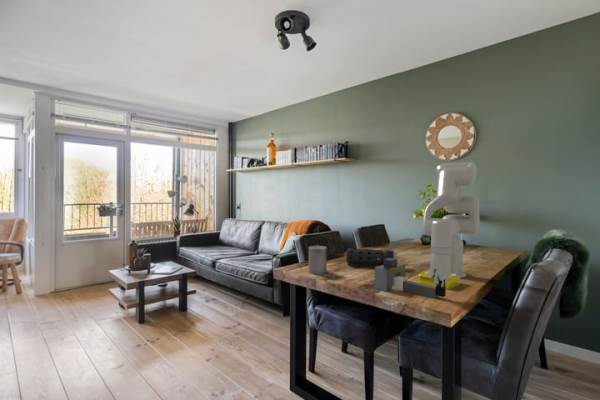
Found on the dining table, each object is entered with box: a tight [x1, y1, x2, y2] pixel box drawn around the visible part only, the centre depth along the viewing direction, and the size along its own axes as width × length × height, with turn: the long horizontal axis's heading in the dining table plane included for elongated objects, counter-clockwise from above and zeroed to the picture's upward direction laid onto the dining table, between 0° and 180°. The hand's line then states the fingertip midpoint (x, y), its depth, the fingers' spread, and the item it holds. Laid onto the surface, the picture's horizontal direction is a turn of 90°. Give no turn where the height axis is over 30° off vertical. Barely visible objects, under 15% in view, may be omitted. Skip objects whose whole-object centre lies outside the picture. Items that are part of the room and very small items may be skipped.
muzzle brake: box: [346, 247, 398, 267], centre depth 180 cm, size 10×28×10 cm, turn 73°
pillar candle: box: [308, 244, 328, 275], centre depth 166 cm, size 10×10×15 cm
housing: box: [374, 258, 406, 292], centre depth 141 cm, size 16×6×12 cm, turn 134°
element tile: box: [417, 270, 461, 290], centre depth 147 cm, size 15×15×5 cm
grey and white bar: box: [393, 276, 439, 299], centre depth 132 cm, size 4×18×5 cm, turn 44°
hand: (440, 295), depth 125 cm, fingers closed
